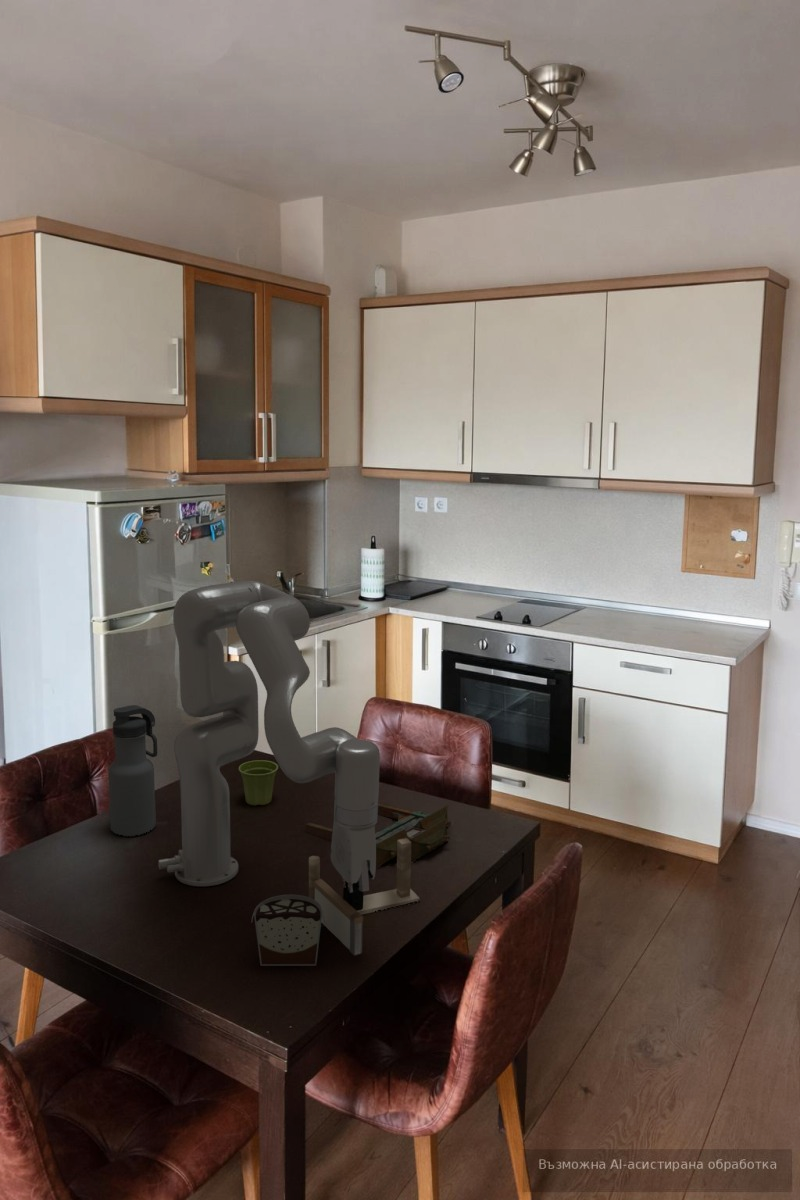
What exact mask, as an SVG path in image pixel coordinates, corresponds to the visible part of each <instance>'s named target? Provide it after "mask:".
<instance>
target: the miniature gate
mask: <svg viewBox="0 0 800 1200" xmlns="http://www.w3.org/2000/svg"><path fill="white" fill-rule="evenodd" d="M448 808H449V804H446V805H445V806H443V807H441V808H440V809H438V810H436V811H434V812H433V813H427V814H425V813H424V812H423V811H420V810H418V811H413V810H409V809H405V808H400V807H396V806H392V805H387V804H383V803H379V802H378V816H383V817H387V818H391V819H394V820H395V821H393V823H392V824H391V825H389V826H386V827H385V828H383V829H382V830H380V831H375V837H376V869H379V868H380V867H381V866H382V865H384V864H386V863H387V862H389V861H392V860H393V859H395V858H397V840H400V839H405V838H407V839H408V840H409V841H410V842H411V862H414V863H415V862H416V861H417V860H418V858H419V857H420V858H422V857H423V855H424V854H425V855H427V854H428V852H429V851H430V852H432V851H434V850H435V849H437V848H438V846H439V845H440V846H442V845H443V844H442V843H444V842H445V843H448V842H447V841H448V840H451V836H450V835H448V834H447V830H448V828H449V826H451V825H452V823H451V821H448V819H449V818H448V810H449V809H448ZM396 820H397V821H396ZM447 825H448V826H447ZM447 827H448V828H447ZM305 832H306V833H309V834H311V835H314V836H315V837H316V836H317V837H320V838H322V839H325V840H328V841H330V842H332V832H333V827H332V828H331V827H327V826H324V825H320V824H316V823H313V822H308V823H305ZM445 843H444V844H445ZM441 844H442V845H441ZM440 846H439V847H440ZM436 847H437V848H436ZM434 848H435V849H434ZM433 849H434V850H433ZM431 850H432V851H431ZM430 852H429V853H430ZM426 853H427V854H426ZM425 855H424V856H425ZM421 856H422V857H421ZM420 858H419V859H420ZM416 859H417V860H416Z"/></svg>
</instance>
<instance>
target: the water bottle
mask: <svg viewBox="0 0 800 1200" xmlns="http://www.w3.org/2000/svg"><path fill="white" fill-rule="evenodd" d="M139 714H141V716H142V717H140V716H135V715H139ZM113 716H114V719H115V720H114V721H113V722H112V736H113V738H114V754H115V755H114V757H115V759H114V761H113V762H112V763H110V765H109V767H108V770H107V773H108V775H107V777H108V778H107V780H108V799H109V800H108V801H109V819H110V820H109V821H110V822H109V823H110V824H109V825H110V830H111V831H113V832H114V833H113V832H112V833H113V834H115V833H116V834H115V835H117V834H119V835H118V836H120V835H123V836H122V837H128V836H129V837H136V836H135V835H138V836H141V834H142V835H144V834H143V833H145V834H147V833H149V832H151V831H152V830H153V829H154V828H155V827H156V823H157V818H156V791H155V784H156V783H155V768H154V763H153V762H152V761H151V760H150V759H148V758H147V756H149V757H151V758H155V757H158V738H157V737H156V735H155V734H153V727H155V726H156V718H155V716H154V714H153V713H152V711H150V710H149V709H147V708H145V707H143V706H140V705H137V704H136V705H135V704H133V705H127V706H126V705H125V706H122V707H116V708H114V709H113ZM146 736H148V737H150V738H151V740H152V747H153V748H152V749H153V752H151V751H149V750H147V749H146V748H147V746H146ZM150 830H151V831H150ZM146 832H147V833H146Z"/></svg>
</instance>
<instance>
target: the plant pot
mask: <svg viewBox="0 0 800 1200" xmlns="http://www.w3.org/2000/svg"><path fill="white" fill-rule="evenodd" d="M278 769H279V764H278V763H276V762H274V761H270V760H264V759H263V760H262V759H260V760H259V759H258V760H251V761H245V762H243V763H241V764H240V765H239V766H238V771H239V772H240V776H241V778H242V785H243V791H244V796H245V797H244V799H245V802H246V803H247V804H248V805H250V806H258V805H260V806H266V805H268V804H269V803H271V802H272V799H273V798H272V797H273V790H274V784H275V776H276V774H277V771H278Z"/></svg>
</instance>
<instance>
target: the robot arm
mask: <svg viewBox="0 0 800 1200" xmlns="http://www.w3.org/2000/svg"><path fill="white" fill-rule="evenodd" d="M173 608H174V609H173V612H172V613H173V614H172V620H173V628H174V632H175V636H176V640H177V646H178V662H179V663H178V664H179V668H178V669H179V694H180V702H181V706H182V709H183V711H184V712H185V713H186V714H187V716H190V717H192V718H205V717H210V716H213V715H217V714H220V713H222V715H219V716H216V717H212V718H209V719H205V720H201V721H198V722H195V723H193V724H190V725H187V726H186V727H185V728H183V729H182V730H181V731H179V733H178V734H177V735H176V737H175V739H174V742H173V749H174V750H173V751H174V757H175V761H176V765H177V771H178V776H179V787H180V809H181V810H180V812H181V814H180V816H181V818H180V820H181V847H182V849H178V854H177V855H176V854H175V855H174V856H173V857H171V858H167V857H166V858H161V859H158V862H157V863H158V869H159V870H165V869H166V871H167V873H174V875H175V879H177V880H178V882H180V883H182V884H185V885H187V886H192V887H211V886H212V887H214V886H218V885H221V884H223V883H227V882H228V881H231V880H232V879H233V878H235V877H236V876H237V875H238V873H239V862H238V861H237V859H235V858H234V857H233V856H231V855H232V854H231V805H230V804H231V801H230V799H231V798H230V788H229V787H230V786H229V783H228V782H227V779H226V778H225V777H224V776H223V774H222V772H221V771H220V768H221V767H223V766H225V765H227V764H230V763H232V762H235V761H238V760H240V759H244V758H246V757H248V756H249V755H251V754H252V753H253V752H254V751H255V750H256V747H257V745H258V741H259V733H260V732H259V691H258V689H259V688H258V684H257V683H258V682H257V680H256V679H257V678H256V677H255V676H256V675H255V673H254V672H253V671H252V669H251V667H249V665H248V664H246V663H244V662H242V661H240V660H230V661H229V660H228V661H225V657H224V655H225V653H224V652H225V649H224V645H223V642H222V640H221V638H220V637H219V635H218V634H217V632H216V631H219V630H224V629H229V628H234V627H235V628H236V633H237V634H238V636H239V638H240V640H241V642H242V645H243V646H244V649H245V651H246V652H247V655H248V657H249V658H250V661H251V662H252V665H253V666H254V668H255V670H256V672H257V674H258V677H259V678H260V681H261V683H262V684H263V686H264V688H265V690H266V691H265V692H266V698H265V699H266V700H265V706H264V711H263V722H264V724H263V725H264V726H263V727H264V735H265V739H266V741H267V744H268V746H269V748H270V750H271V752H272V754H273V756H274V758H275V760H276V762H277V765H278V767H280V769H281V771H282V772H283V773H284V775H285V776H286V777H287V778H288V779H289V780H291V781H292V782H294V783H297V784H304V783H305V784H306V783H310V782H312V781H316V780H317V779H320V778H321V777H325V776H327V775H330V774H334V775H335V776H334V805H333V806H334V807H333V810H334V811H333V823H332V824H333V825H332V829H333V832H332V841H331V845H330V847H331V848H330V861H331V864H332V866H333V867H334V868H335V869H336V871H337V872H338V873H339V875H340V876H341V877H342V885H343V891H342V892H343V893H342V898H343V899H344V900H345V901H346V902H347V903H349V904H350V905H351V906H352V907H353V908H354V909H355V910H356V911H359V910H362V909H363V896H365V895H364V894H365V893H364V892H368V891H370V883H369V881H373V880H374V879H375V877H376V872H377V871H376V870H377V868H376V837H375V832H376V826H375V825H376V824H377V823H378V821H379V820H378V818H379V815H378V803H379V794H380V791H379V790H380V789H379V788H380V785H379V784H380V763H381V762H380V761H381V760H380V759H381V756H380V754H381V752H380V749H379V748H380V747H379V746H378V745H377V744H376V743H374V742H373V741H369V740H366V739H360V738H358V737H356V736H355V735H353V734H351V733H350V732H348V731H347V730H345V729H343V728H340V727H336V726H335V727H329V728H324V729H322V730H320V731H316V732H314V733H311V734H310V733H309V734H308V735H305V736H302V737H301V736H300V734H299V732H298V730H297V727H296V725H295V723H294V720H293V716H292V714H293V713H292V703H293V699H294V697H295V694H296V692H297V691H298V690H299V689H300V688H301V687H302V686H303V685H305V683H306V682H307V681H308V679H309V677H310V674H311V673H310V672H311V671H310V667H309V666H308V664H307V662H306V660H305V658H304V656H303V655H302V652H301V651H300V648H299V647H298V644H297V643H296V641H297V640H298V641H299V640H301V639H303V638H304V637H305V636H306V635H307V634H308V632H309V629H310V626H311V619H310V615H309V614H310V613H309V612H308V610H307V608H306V607H305V605H304V604H303V603H302V602H301V601H300V600H299V599H298V598H296V597H295V596H293V595H291V594H288V593H287V592H284V591H283V590H280V589H277V588H274V587H273V586H270V585H268V584H266V583H262V582H261V581H258V580H257V581H256V580H252V579H251V580H238V581H232V582H227V583H226V582H224V583H217V584H212V585H211V584H210V585H206V586H201V587H198V588H194V589H191V590H189V591H187V592H185V593H183V594H182V595H181V596H179V598H178V600H177V601H176V603H175V605H174V607H173Z"/></svg>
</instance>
